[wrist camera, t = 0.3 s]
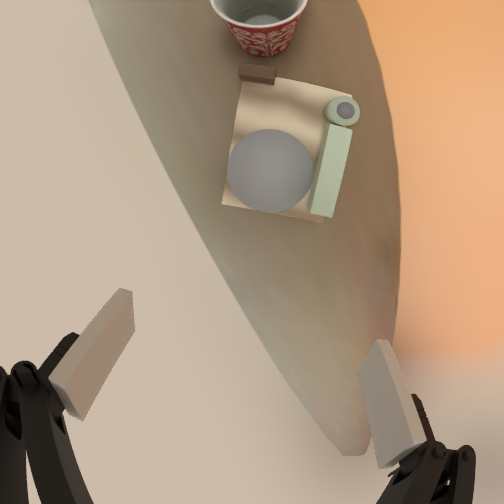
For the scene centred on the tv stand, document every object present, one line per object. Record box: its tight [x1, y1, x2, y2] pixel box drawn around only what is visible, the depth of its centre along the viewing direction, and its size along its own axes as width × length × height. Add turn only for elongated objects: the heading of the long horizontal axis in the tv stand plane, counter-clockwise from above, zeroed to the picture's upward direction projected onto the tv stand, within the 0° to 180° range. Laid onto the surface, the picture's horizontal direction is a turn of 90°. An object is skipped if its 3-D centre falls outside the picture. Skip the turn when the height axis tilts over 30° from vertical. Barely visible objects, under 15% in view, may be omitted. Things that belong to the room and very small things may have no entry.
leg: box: [307, 96, 360, 218], centre depth 30 cm, size 15×4×4 cm, turn 170°
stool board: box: [222, 63, 352, 224], centre depth 31 cm, size 18×14×6 cm
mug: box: [210, 0, 308, 57], centre depth 21 cm, size 13×9×14 cm
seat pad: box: [227, 129, 313, 213], centre depth 34 cm, size 11×11×1 cm
